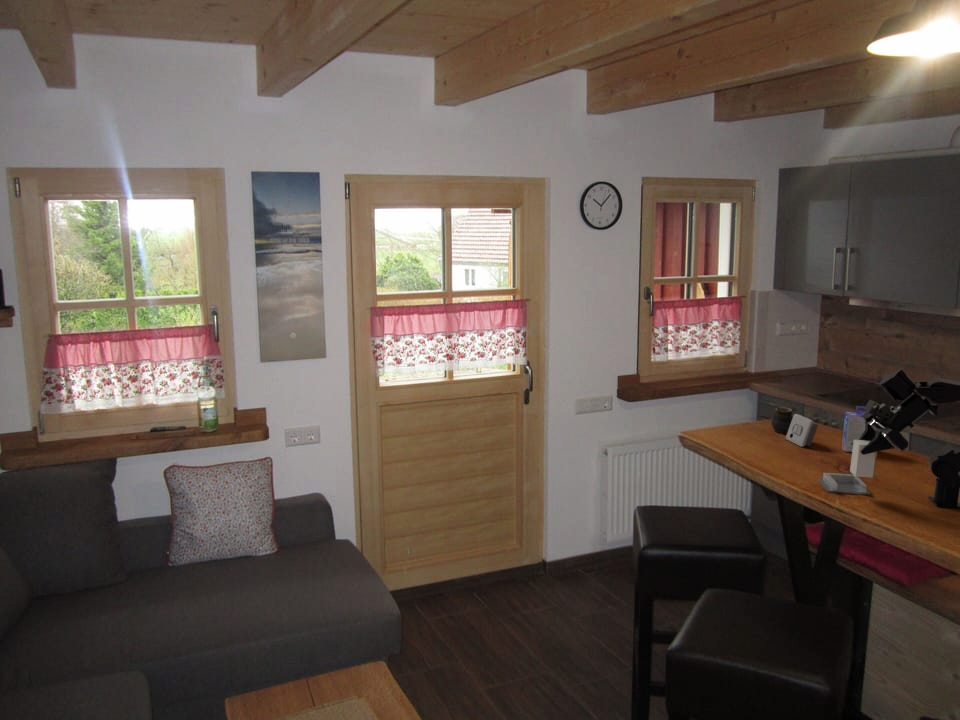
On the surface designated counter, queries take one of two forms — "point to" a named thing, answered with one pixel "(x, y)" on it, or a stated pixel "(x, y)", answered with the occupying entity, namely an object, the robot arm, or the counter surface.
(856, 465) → the block
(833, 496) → the counter surface
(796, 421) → the electrical switch
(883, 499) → the counter surface
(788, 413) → the mate gourd
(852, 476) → the rail cradle
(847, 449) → the ink cartridge box
